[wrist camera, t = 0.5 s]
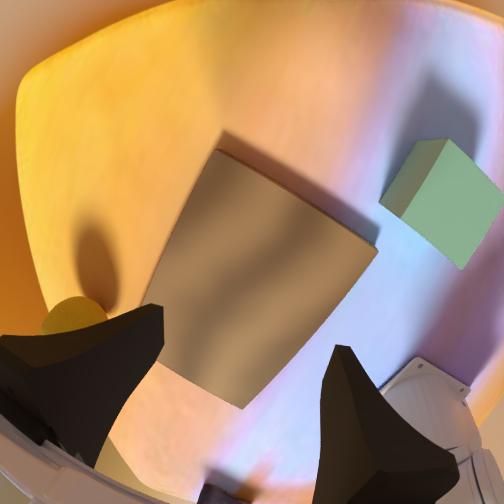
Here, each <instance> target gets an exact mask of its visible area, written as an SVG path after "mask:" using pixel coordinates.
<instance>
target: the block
mask: <svg viewBox="0 0 504 504" xmlns="http://www.w3.org/2000/svg"><path fill="white" fill-rule="evenodd" d="M379 203H380V204H381V205H382V206H384V207H385V208H386V209H388V210H389V211H390V212H392V213H393V214H394V215H396V216H397V217H398V218H400V219H401V220H402V221H404V222H405V223H406V224H407V225H409V226H410V227H411V228H412V229H414V230H415V231H416V232H417V233H419V234H420V235H421V236H422V237H424V238H425V239H426V240H427V241H428V242H430V243H431V244H432V245H433V246H434V247H436V248H437V249H438V250H439V251H440V252H441V253H443V254H444V255H445V256H446V257H447V258H448V259H450V260H451V261H452V262H453V263H454V264H455V265H456V266H457V267H458V268H460V269H461V270H462V269H463V268H464V267H465V265H466V264H467V262H468V261H469V259H470V258H471V256H472V255H473V253H474V252H475V250H476V249H477V247H478V246H479V244H480V243H481V241H482V239H483V238H484V236H485V235H486V233H487V231H488V230H489V228H490V226H491V225H492V223H493V221H494V220H495V218H496V216H497V214H498V213H499V211H500V209H501V207H502V205H503V203H504V195H503V193H502V192H501V191H500V190H499V189H498V188H497V186H496V185H495V184H494V183H493V182H492V181H491V180H490V179H489V177H488V176H487V175H486V174H485V173H484V172H483V171H482V170H481V169H480V168H479V167H478V166H477V165H476V164H475V163H474V162H473V161H472V160H471V159H470V158H469V157H468V156H467V155H466V154H465V153H464V152H463V151H462V150H461V149H460V148H459V147H458V146H457V145H456V144H455V143H454V142H452V141H451V140H450V139H449V138H445V139H432V140H420V141H416V143H415V145H414V147H413V148H412V150H411V152H410V153H409V155H408V157H407V158H406V160H405V162H404V163H403V165H402V166H401V168H400V170H399V171H398V173H397V175H396V176H395V178H394V179H393V181H392V183H391V184H390V186H389V187H388V189H387V190H386V192H385V193H384V195H383V197H382V198H381V200H380V201H379Z"/></svg>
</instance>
